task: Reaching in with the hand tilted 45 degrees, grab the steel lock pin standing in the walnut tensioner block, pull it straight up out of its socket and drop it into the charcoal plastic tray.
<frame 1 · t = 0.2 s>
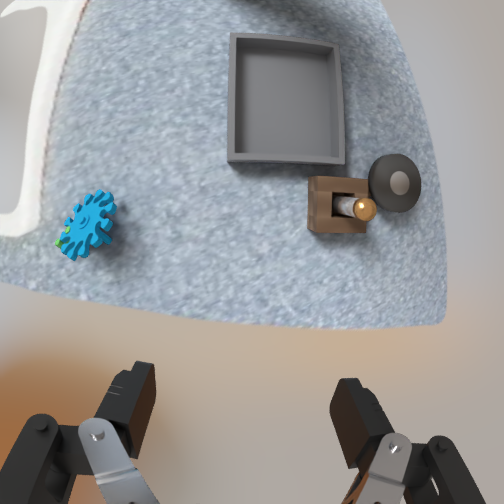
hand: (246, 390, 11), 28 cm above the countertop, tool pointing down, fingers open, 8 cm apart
tray: (282, 100, 35), on the countertop
gear: (95, 222, 36), on the countertop
lock pin: (333, 203, 38), resting on tensioner
tensioner: (331, 203, 39), on the countertop
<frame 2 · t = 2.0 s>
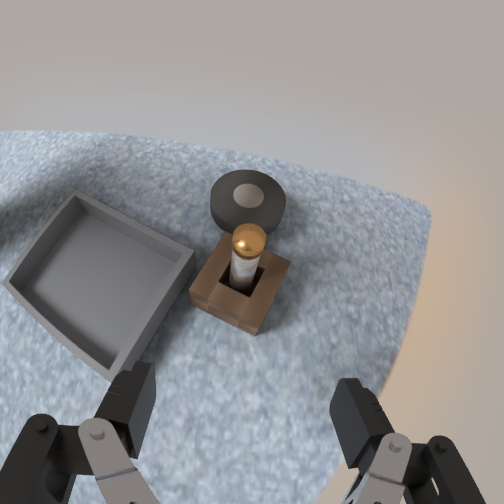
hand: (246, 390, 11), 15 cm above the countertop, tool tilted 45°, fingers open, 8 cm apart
tray: (95, 283, 28), on the countertop
lock pin: (238, 289, 29), resting on tensioner
tensioner: (238, 291, 30), on the countertop
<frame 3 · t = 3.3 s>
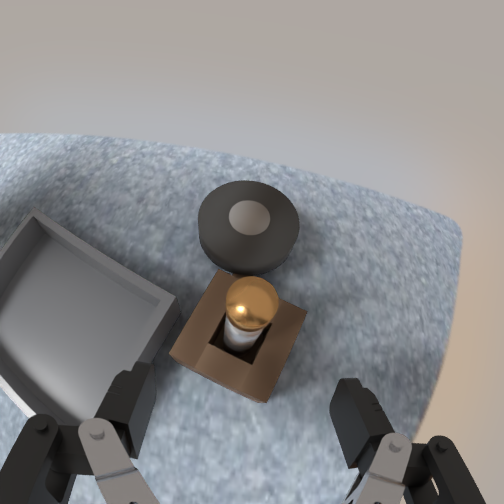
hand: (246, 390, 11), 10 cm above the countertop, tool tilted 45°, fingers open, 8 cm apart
tray: (59, 328, 20), on the countertop
lock pin: (237, 343, 22), resting on tensioner
tensioner: (236, 344, 22), on the countertop
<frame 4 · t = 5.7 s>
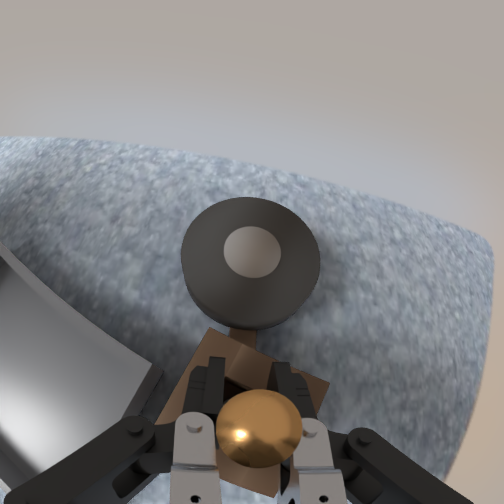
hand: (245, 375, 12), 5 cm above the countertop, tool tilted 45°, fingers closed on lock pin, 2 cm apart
tray: (22, 380, 14), on the countertop
lock pin: (236, 414, 15), resting on tensioner, touching gripper
tensioner: (235, 413, 16), on the countertop
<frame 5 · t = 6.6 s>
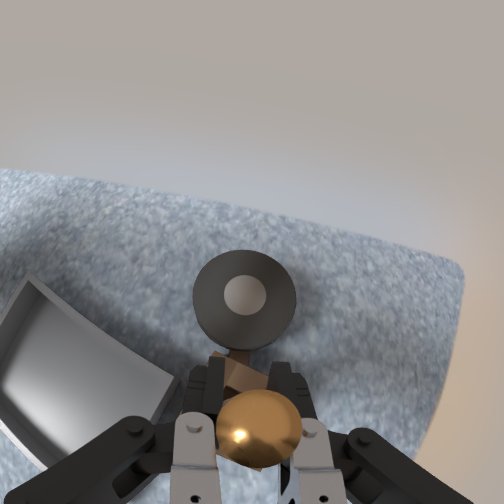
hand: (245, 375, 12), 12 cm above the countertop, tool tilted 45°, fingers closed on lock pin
tray: (65, 391, 20), on the countertop
lock pin: (236, 414, 16), point 7 cm above the countertop, touching gripper
tensioner: (234, 411, 22), on the countertop
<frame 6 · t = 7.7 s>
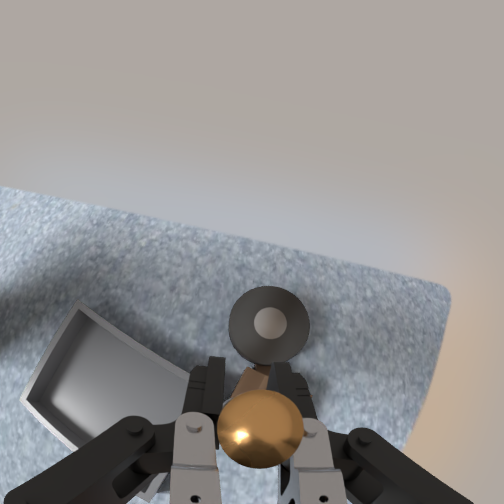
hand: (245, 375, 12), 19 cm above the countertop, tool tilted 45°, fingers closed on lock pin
tray: (115, 401, 26), on the countertop
lock pin: (236, 414, 15), point 14 cm above the countertop, touching gripper
tensioner: (259, 412, 27), on the countertop
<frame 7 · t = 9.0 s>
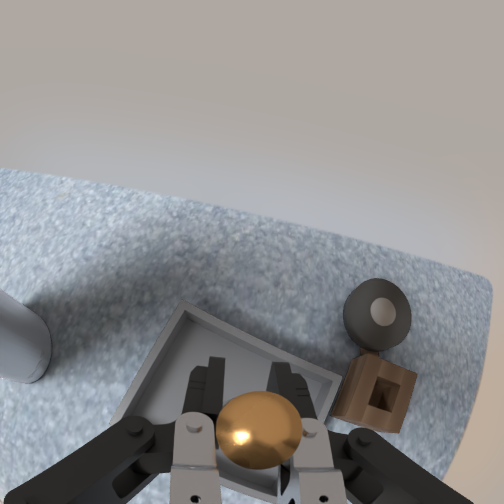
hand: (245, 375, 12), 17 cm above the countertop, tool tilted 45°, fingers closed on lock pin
tray: (226, 407, 26), on the countertop
lock pin: (236, 415, 15), point 12 cm above the countertop, touching gripper
tensioner: (366, 396, 28), on the countertop
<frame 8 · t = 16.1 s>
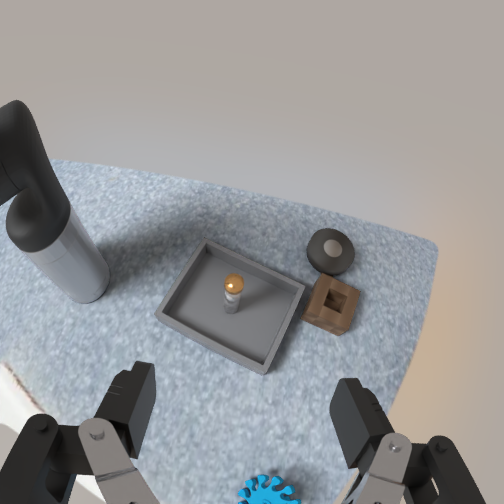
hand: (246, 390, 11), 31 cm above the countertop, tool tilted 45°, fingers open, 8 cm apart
tray: (230, 308, 45), on the countertop
gear: (262, 500, 30), on the countertop
lock pin: (230, 307, 44), point 1 cm above the countertop, touching tray
tensioner: (326, 309, 46), on the countertop
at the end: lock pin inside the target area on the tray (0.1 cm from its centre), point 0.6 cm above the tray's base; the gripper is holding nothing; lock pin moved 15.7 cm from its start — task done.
